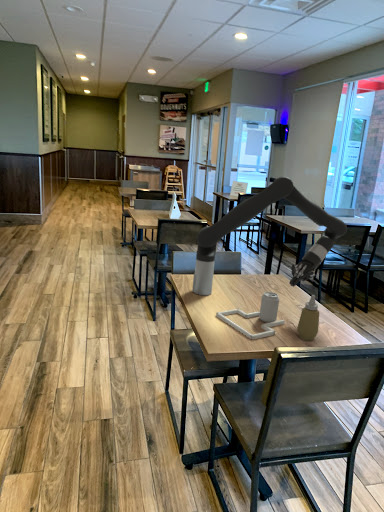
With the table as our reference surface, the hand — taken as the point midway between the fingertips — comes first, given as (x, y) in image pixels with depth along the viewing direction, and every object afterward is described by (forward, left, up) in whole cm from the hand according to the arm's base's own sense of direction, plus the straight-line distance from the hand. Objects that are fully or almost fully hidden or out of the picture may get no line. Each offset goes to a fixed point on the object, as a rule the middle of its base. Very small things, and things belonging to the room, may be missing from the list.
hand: (291, 285), depth 170 cm
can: (-8, -8, -15) cm, 19 cm away
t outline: (-13, -14, -15) cm, 24 cm away
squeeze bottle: (+8, -20, -15) cm, 26 cm away
